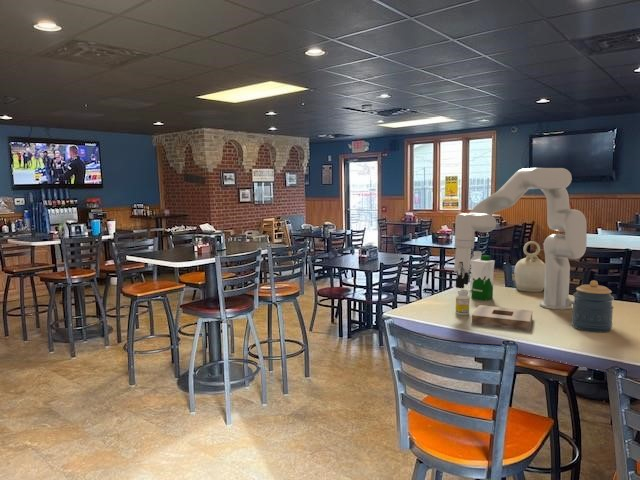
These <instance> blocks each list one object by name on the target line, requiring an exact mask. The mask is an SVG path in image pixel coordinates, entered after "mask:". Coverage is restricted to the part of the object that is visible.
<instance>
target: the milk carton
mask: <svg viewBox="0 0 640 480" xmlns="http://www.w3.org/2000/svg"><path fill="white" fill-rule="evenodd" d="M495 263H496V260H495V259H494V260H493V259H491V255H488V254H487V255H486V254H482V255H481V259H477V260H472V267H473V277H472V290H471V295H470V296H471V297H470V299H472V300H473V299H475V300H481V301H488V300H492V299H493V297H494V272H495V271H494V270H495Z"/></svg>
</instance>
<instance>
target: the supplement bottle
mask: <svg viewBox="0 0 640 480" xmlns="http://www.w3.org/2000/svg"><path fill="white" fill-rule="evenodd" d="M470 299H471V297H470V296H469V290H468V289H458V290H457V295H456V296H455V313H456V315H461V316H467V315H469V314H470V303H471V302H470V301H471V300H470Z"/></svg>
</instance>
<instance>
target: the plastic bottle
mask: <svg viewBox="0 0 640 480" xmlns="http://www.w3.org/2000/svg"><path fill="white" fill-rule="evenodd" d="M481 255H483V254H482V251H480V250H473V257H471V260H470V270H471V271H470V272H471V273H470V280H469V289H470V290H471V291H472V277H473V267H472V260H477V259H481Z"/></svg>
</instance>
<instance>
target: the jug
mask: <svg viewBox="0 0 640 480" xmlns="http://www.w3.org/2000/svg"><path fill="white" fill-rule="evenodd" d="M530 245H534V246H535V247H536V251H535V252H533V253H530V252H528V251H527V248H528V246H530ZM540 251H541V247H540V245H539V243H538V242H536V241H534V240H533V241H532V240H531V241H528V242H526V243H525V244H524V246H523V253H524V255H526V257H524V258H521V259H519V260H518V261H517V262H516V264H515V267H514V273H513V274H514V281H515V286H516V289H517V290H518V291H522V292H529V293H532V292H533V293H539V292H541V293H542V292H544V283H545V262H543V260H542V259H540V258H539V257H538V255H539V253H540Z"/></svg>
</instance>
